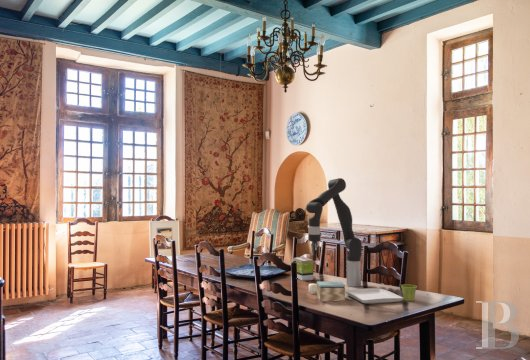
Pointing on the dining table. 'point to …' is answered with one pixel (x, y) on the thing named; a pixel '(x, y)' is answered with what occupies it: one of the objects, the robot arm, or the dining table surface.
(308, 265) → the tea box
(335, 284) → the box lid
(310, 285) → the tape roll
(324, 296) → the woven basket
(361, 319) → the dining table surface
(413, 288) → the plant pot
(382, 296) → the square plate
